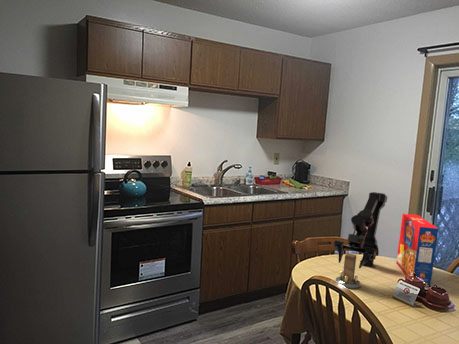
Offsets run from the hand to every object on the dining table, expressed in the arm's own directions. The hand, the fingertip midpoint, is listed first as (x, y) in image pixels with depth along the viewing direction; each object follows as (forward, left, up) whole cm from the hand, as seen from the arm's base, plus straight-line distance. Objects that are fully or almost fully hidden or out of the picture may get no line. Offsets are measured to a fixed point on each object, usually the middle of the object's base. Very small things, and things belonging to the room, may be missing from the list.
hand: (349, 265), depth 169 cm
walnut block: (-1, +1, -8) cm, 8 cm away
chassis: (-1, +1, -9) cm, 9 cm away
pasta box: (-22, +38, -9) cm, 44 cm away
